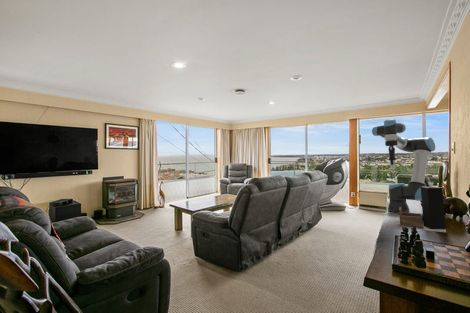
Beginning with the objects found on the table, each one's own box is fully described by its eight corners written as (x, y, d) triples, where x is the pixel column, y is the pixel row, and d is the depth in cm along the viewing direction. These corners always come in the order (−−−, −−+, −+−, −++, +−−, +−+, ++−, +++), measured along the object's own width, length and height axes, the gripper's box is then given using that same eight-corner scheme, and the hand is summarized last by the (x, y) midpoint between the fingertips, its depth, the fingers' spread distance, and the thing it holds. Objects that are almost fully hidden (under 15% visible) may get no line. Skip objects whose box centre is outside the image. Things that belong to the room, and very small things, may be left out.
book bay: (400, 220, 169) (399, 206, 170) (422, 222, 162) (420, 207, 163) (400, 224, 159) (399, 209, 160) (422, 226, 152) (421, 211, 153)
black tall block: (445, 229, 141) (442, 182, 142) (430, 229, 143) (427, 182, 144) (437, 226, 149) (434, 181, 150) (423, 225, 151) (419, 181, 152)
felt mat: (423, 226, 153) (423, 224, 153) (444, 228, 147) (444, 226, 147) (424, 230, 145) (424, 228, 145) (446, 232, 139) (446, 230, 139)
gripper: (386, 141, 189) (388, 168, 188) (383, 139, 169) (385, 169, 168) (397, 140, 185) (399, 168, 184) (396, 138, 165) (398, 169, 164)
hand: (393, 169), depth 176 cm, fingers open, 13 cm apart
